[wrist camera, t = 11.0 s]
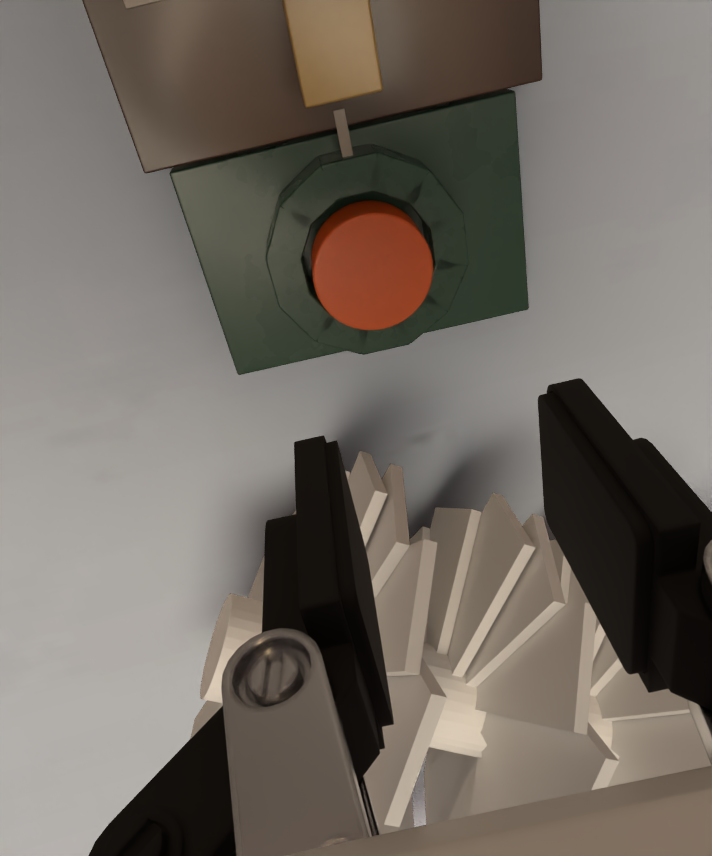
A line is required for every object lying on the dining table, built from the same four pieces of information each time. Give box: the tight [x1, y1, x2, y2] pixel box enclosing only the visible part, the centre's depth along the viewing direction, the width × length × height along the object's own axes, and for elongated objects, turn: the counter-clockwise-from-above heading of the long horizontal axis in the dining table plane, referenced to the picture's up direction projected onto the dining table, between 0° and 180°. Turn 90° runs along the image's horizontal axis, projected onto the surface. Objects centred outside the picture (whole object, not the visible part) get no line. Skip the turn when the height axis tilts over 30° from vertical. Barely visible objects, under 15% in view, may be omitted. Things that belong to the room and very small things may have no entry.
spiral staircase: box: [190, 451, 711, 834], centre depth 28 cm, size 18×18×25 cm
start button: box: [311, 200, 433, 330], centre depth 22 cm, size 4×4×2 cm
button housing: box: [170, 89, 529, 375], centre depth 24 cm, size 12×8×4 cm, turn 102°
